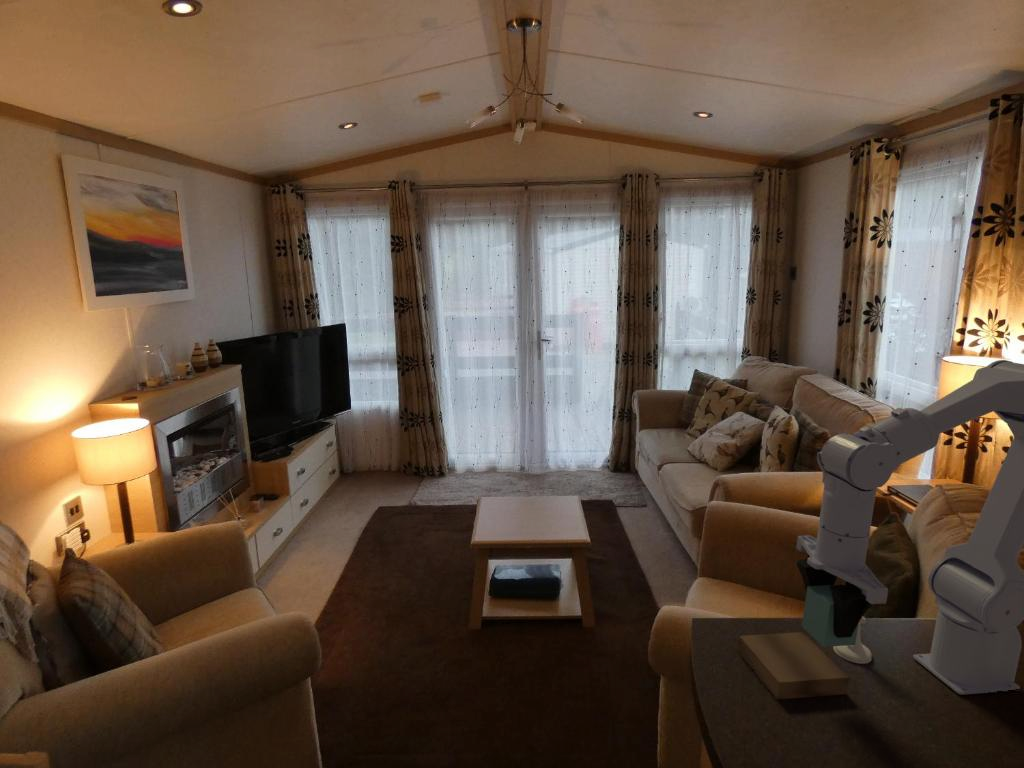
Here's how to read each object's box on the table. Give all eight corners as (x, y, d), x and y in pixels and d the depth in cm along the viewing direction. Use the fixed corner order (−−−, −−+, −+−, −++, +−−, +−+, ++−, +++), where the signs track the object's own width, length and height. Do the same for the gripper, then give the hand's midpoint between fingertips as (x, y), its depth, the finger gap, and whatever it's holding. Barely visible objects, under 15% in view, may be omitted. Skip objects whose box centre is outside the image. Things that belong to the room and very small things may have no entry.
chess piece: (877, 666, 84) (887, 602, 82) (839, 660, 85) (849, 597, 83) (864, 645, 89) (873, 584, 87) (828, 640, 90) (837, 580, 88)
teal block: (831, 624, 81) (837, 584, 80) (855, 644, 77) (861, 602, 76) (801, 626, 80) (807, 586, 79) (823, 647, 76) (829, 604, 75)
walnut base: (800, 647, 88) (802, 632, 88) (846, 694, 78) (849, 677, 78) (737, 651, 87) (739, 635, 86) (776, 699, 77) (779, 682, 76)
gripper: (781, 506, 82) (770, 596, 85) (856, 555, 68) (839, 661, 71) (827, 505, 83) (815, 593, 86) (910, 553, 69) (892, 657, 72)
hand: (829, 624), depth 78 cm, fingers closed on teal block, 4 cm apart
